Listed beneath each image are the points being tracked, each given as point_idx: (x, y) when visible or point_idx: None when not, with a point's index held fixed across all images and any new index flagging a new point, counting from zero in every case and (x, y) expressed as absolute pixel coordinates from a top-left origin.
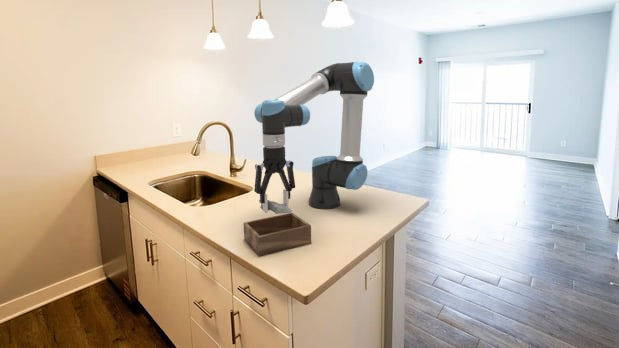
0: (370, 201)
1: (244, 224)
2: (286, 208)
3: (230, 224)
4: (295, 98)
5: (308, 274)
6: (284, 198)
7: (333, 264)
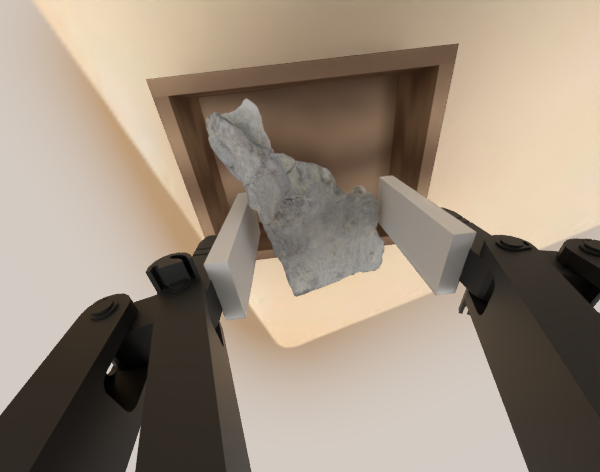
0: None
1: (156, 101)
2: (357, 271)
3: None
4: None
5: (310, 317)
6: (405, 219)
7: (370, 305)
